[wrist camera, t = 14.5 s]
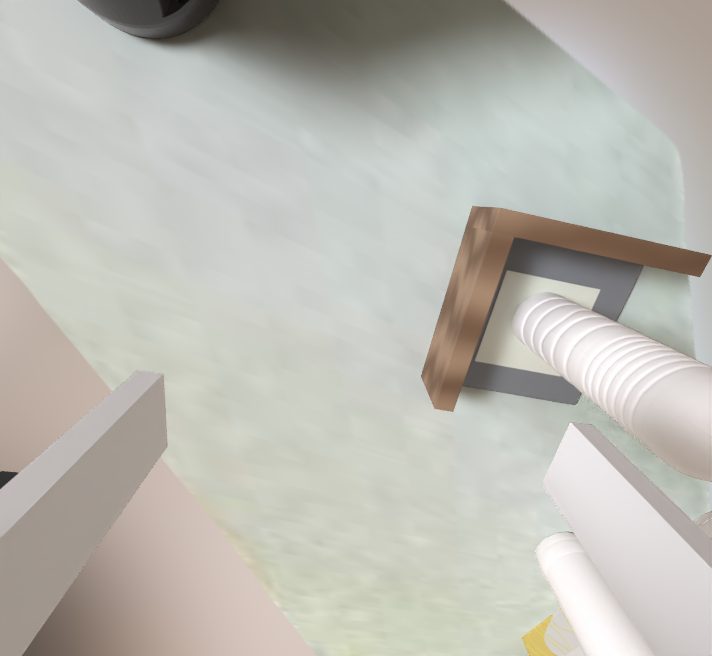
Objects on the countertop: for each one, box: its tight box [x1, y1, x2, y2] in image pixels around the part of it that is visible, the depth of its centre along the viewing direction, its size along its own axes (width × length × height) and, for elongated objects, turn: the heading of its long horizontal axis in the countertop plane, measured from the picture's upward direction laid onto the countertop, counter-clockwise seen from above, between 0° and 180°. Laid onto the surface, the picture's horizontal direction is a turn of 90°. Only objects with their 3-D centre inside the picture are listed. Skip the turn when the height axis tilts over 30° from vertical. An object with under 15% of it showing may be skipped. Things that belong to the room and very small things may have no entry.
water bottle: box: [512, 292, 712, 538], centre depth 28 cm, size 9×6×25 cm
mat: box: [462, 237, 643, 405], centre depth 40 cm, size 18×18×1 cm
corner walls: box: [421, 206, 711, 412], centre depth 37 cm, size 20×20×7 cm
